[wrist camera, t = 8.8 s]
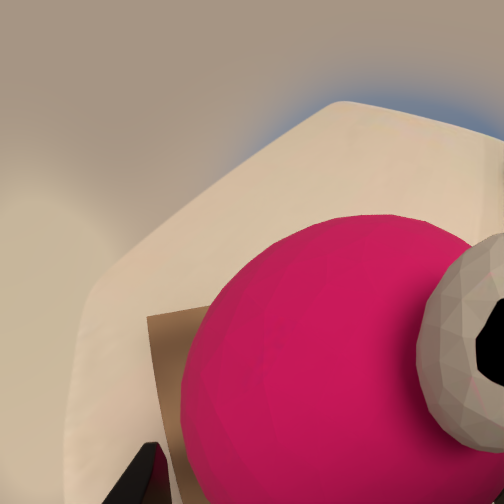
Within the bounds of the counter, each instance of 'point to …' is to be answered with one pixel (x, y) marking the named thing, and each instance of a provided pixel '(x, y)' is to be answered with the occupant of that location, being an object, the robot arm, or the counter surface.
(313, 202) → the counter surface
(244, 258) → the counter surface
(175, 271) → the counter surface
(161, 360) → the walnut board
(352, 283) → the pepper mill
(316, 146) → the counter surface
